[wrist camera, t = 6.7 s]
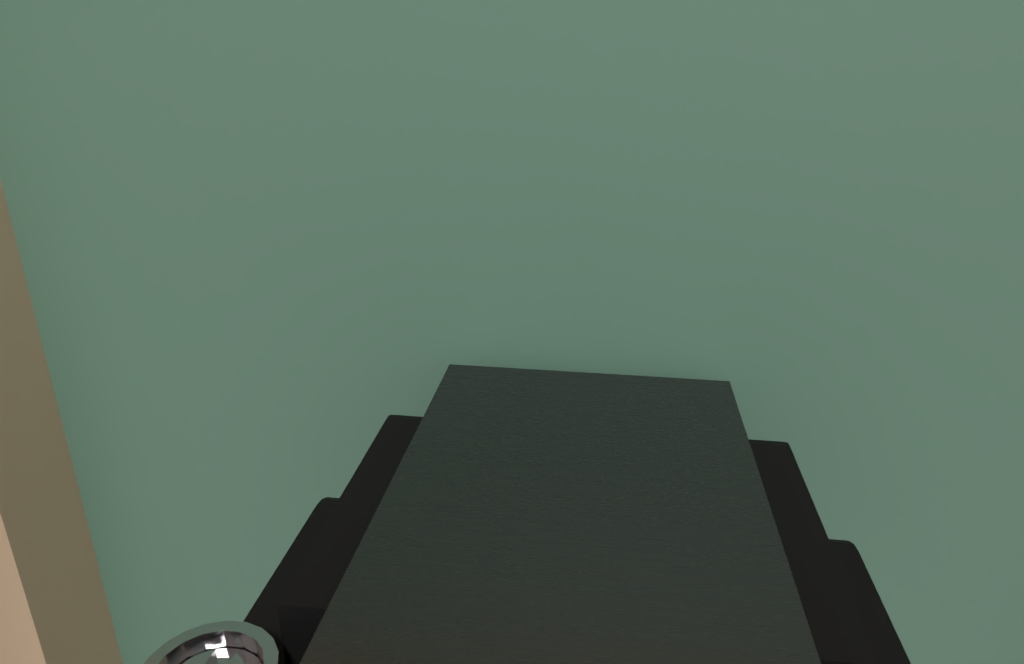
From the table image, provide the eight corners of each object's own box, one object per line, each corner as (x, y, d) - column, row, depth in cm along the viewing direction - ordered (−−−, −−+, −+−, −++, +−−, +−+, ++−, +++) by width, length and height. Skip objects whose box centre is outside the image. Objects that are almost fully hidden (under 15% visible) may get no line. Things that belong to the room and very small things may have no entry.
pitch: (-99, -184, 10) (-333, -254, 8) (1539, -233, 8) (1971, -358, 6) (165, 851, 19) (94, 981, 16) (1013, 974, 16) (1087, 1150, 14)
